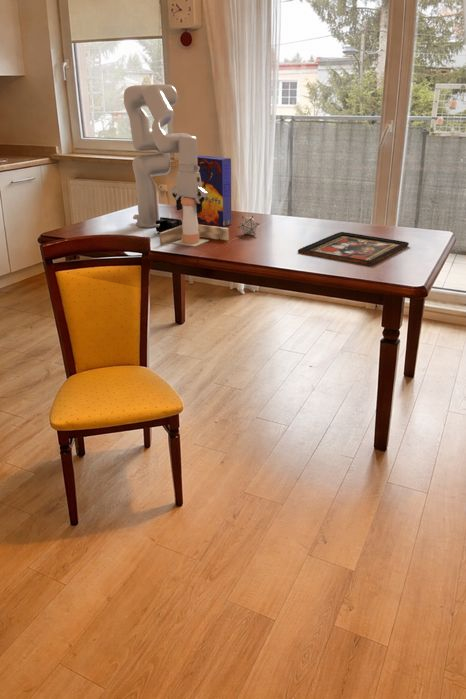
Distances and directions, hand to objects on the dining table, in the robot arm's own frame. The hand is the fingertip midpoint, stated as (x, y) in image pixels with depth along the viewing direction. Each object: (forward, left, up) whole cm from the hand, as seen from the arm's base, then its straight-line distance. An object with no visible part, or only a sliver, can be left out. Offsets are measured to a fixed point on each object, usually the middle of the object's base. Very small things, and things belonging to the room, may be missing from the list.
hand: (189, 211), depth 243 cm
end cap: (-16, +8, -13) cm, 22 cm away
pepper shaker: (0, 0, -13) cm, 13 cm away
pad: (+1, 0, -13) cm, 13 cm away
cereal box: (-12, +36, -13) cm, 40 cm away
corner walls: (+2, 0, -13) cm, 13 cm away
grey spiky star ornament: (+16, +23, -13) cm, 30 cm away
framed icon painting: (+65, +21, -14) cm, 69 cm away
